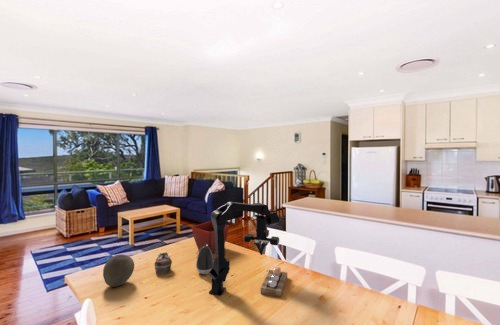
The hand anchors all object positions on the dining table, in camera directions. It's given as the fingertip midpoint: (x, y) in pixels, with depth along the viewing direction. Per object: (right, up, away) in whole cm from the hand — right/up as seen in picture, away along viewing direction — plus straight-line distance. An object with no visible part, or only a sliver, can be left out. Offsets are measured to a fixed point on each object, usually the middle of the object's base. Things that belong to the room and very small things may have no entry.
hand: (261, 254), depth 135 cm
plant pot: (-34, -11, +40) cm, 54 cm away
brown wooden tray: (+6, -13, -8) cm, 16 cm away
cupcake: (-57, -13, +8) cm, 59 cm away
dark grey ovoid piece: (-32, -13, +7) cm, 35 cm away
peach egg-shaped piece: (+8, -11, -3) cm, 14 cm away
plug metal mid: (+6, -13, -8) cm, 16 cm away
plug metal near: (+5, -13, -13) cm, 19 cm away
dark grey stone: (-75, -13, -6) cm, 76 cm away
